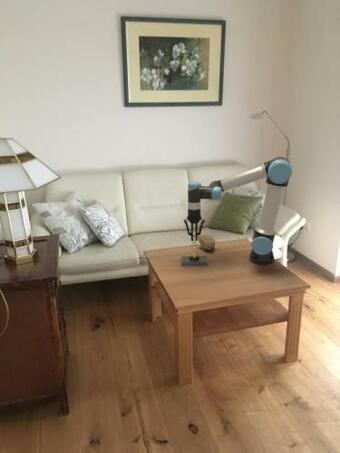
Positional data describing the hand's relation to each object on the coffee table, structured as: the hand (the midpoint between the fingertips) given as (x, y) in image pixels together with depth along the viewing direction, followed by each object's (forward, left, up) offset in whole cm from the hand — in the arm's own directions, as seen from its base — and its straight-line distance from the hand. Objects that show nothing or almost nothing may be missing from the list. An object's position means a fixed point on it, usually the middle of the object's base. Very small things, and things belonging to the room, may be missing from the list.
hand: (194, 245), depth 220 cm
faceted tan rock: (-10, -20, -11) cm, 26 cm away
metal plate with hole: (0, 0, -11) cm, 11 cm away
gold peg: (0, 0, -11) cm, 11 cm away
